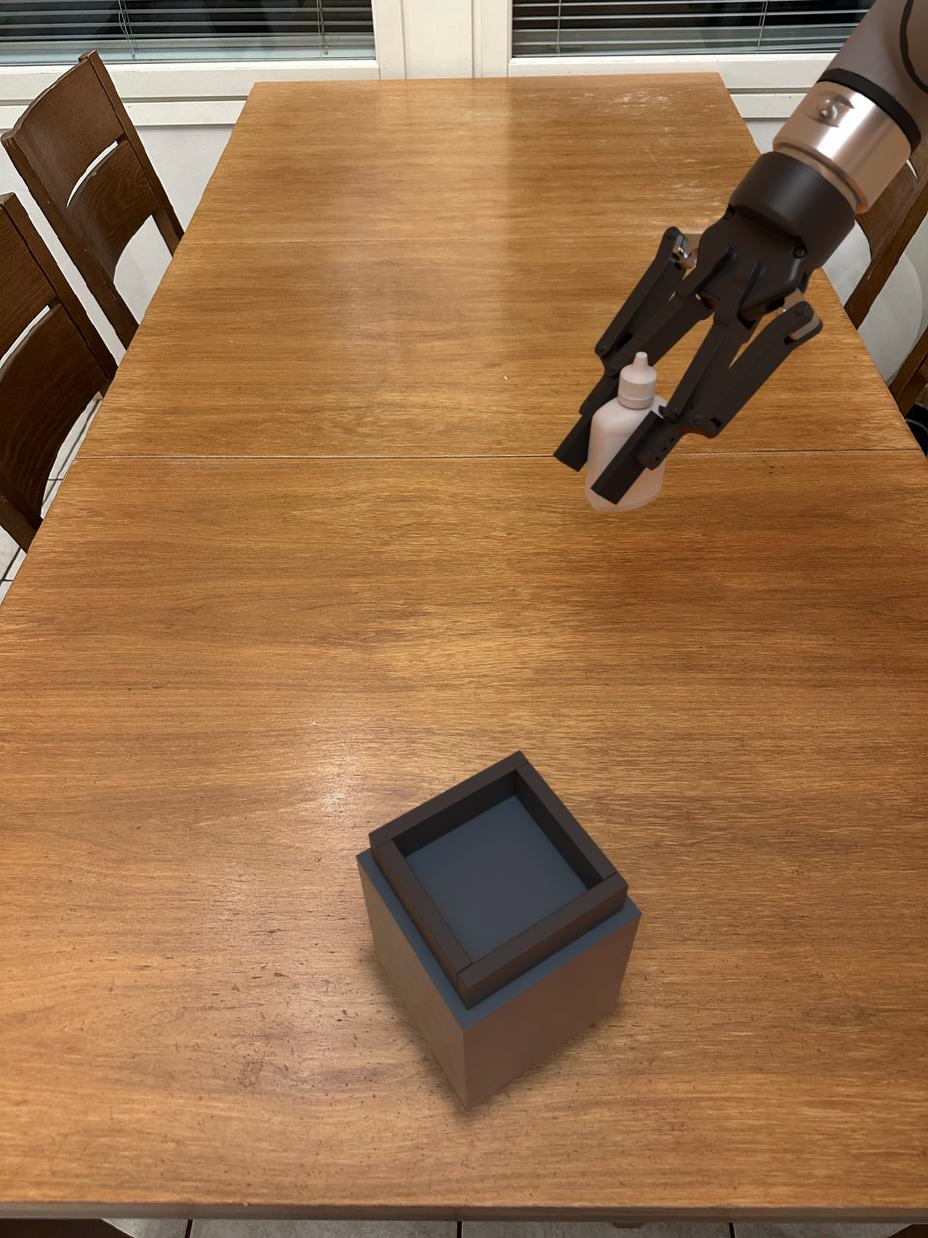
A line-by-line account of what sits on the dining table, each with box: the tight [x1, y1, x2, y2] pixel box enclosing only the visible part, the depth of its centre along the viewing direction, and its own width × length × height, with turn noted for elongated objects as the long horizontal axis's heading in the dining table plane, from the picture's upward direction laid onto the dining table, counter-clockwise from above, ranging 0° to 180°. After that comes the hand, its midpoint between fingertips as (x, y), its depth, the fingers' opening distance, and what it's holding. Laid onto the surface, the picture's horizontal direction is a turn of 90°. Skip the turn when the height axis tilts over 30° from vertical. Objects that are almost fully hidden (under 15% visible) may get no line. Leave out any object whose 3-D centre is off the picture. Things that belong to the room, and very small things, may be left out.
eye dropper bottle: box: [583, 352, 669, 513], centre depth 66 cm, size 4×6×12 cm
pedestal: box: [355, 749, 643, 1112], centre depth 59 cm, size 12×12×18 cm
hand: (584, 479), depth 66 cm, fingers closed on eye dropper bottle, 4 cm apart
